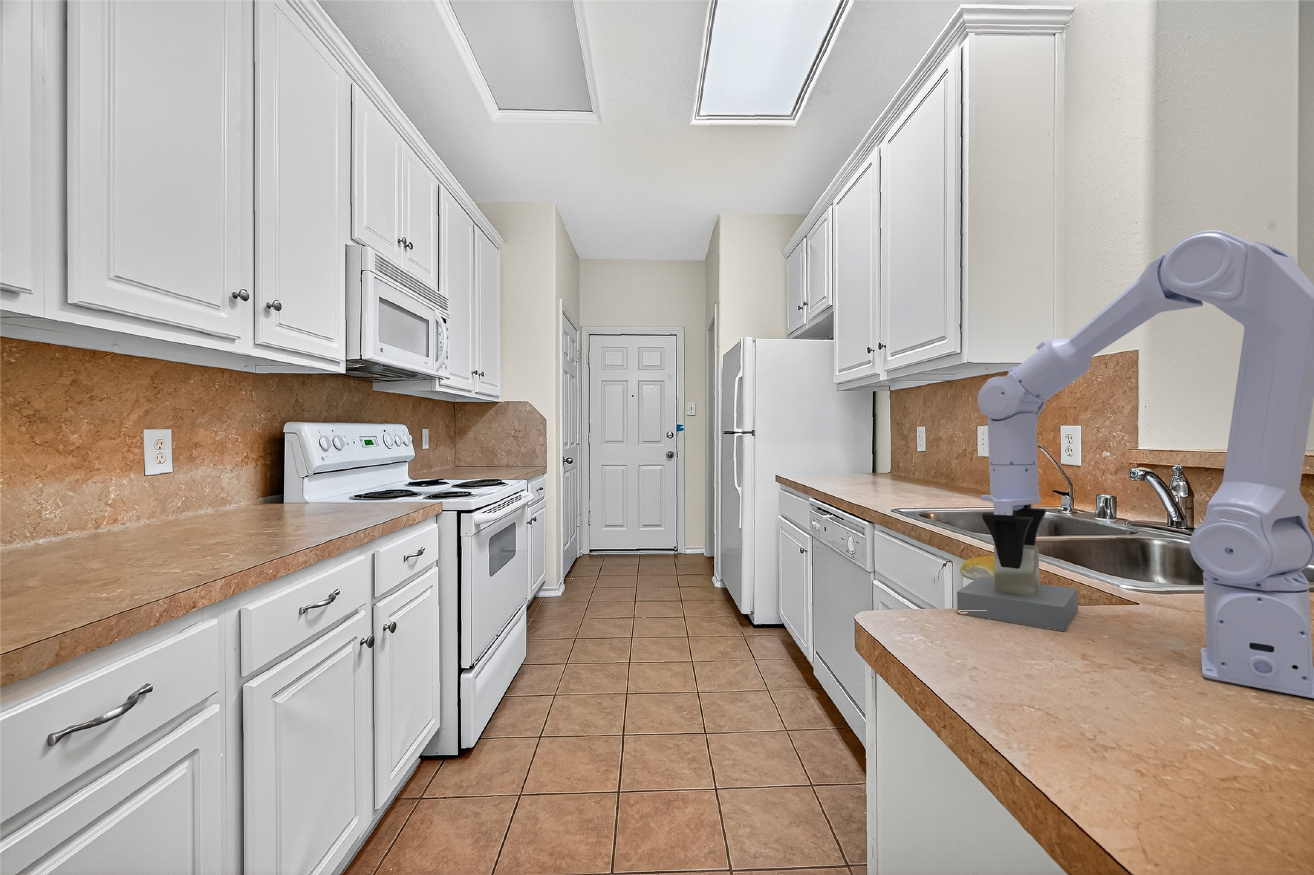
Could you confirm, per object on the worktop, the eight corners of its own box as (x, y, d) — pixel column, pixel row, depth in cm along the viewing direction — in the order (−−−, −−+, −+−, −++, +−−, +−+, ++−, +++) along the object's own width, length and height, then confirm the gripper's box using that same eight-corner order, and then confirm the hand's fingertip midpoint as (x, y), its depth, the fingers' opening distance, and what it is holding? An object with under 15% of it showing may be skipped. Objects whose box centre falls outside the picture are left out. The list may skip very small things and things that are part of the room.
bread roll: (1025, 578, 97) (1025, 555, 97) (1001, 586, 92) (1001, 562, 92) (976, 570, 104) (975, 549, 104) (951, 577, 99) (951, 555, 99)
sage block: (1032, 596, 74) (1031, 550, 74) (995, 590, 77) (993, 547, 77) (1039, 589, 77) (1038, 546, 77) (1003, 584, 80) (1001, 542, 80)
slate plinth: (1064, 631, 69) (1063, 607, 69) (957, 613, 77) (956, 591, 77) (1078, 610, 77) (1077, 588, 77) (980, 596, 86) (980, 576, 86)
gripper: (993, 463, 86) (996, 552, 85) (966, 466, 75) (970, 567, 75) (1048, 463, 81) (1052, 557, 80) (1028, 466, 70) (1032, 574, 70)
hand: (1016, 563), depth 77 cm, fingers open, 7 cm apart
